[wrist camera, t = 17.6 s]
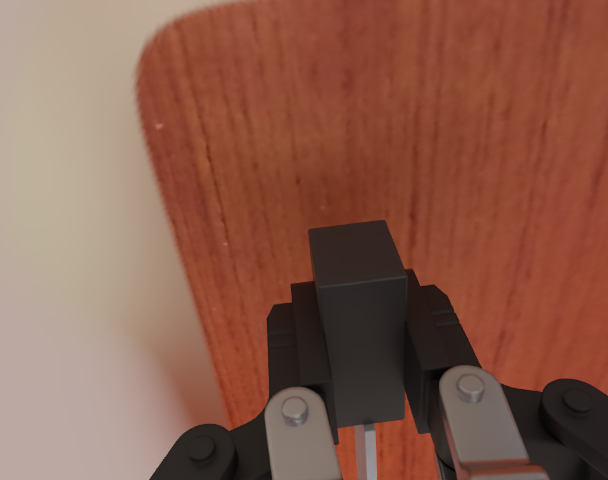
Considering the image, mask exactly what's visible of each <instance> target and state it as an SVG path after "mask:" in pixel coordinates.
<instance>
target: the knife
mask: <svg viewBox="0 0 608 480" xmlns="http://www.w3.org/2000/svg"><path fill="white" fill-rule="evenodd" d="M308 236H309V245H310V254H311V263H312V273H313V281H314V285H315V291H316V297H317V304H318V310H319V316H320V323H321V329H322V332H325V337H326V343H327V349H328V355H329V361H330V367H331V373H332V379H333V388H334V399H335V409H336V420H337V428H341V427H349V426H354V431H355V446H356V461H357V476H358V480H377V465H376V431H375V426H374V423H379V422H387V421H395V420H402V419H404V418H405V388H404V338H405V322H406V321H407V282H408V276H407V274H406V271H405V269H404V266H403V264H402V261H401V259H400V256H399V254H398V251H397V249H396V246H395V244H394V241H393V239H392V236H391V234H390V232H389V229H388V227H387V224H386V222H385V220H378V221H370V222H362V223H354V224H346V225H338V226H330V227H322V228H314V229H309V230H308Z"/></svg>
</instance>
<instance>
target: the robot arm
mask: <svg viewBox="0 0 608 480" xmlns="http://www.w3.org/2000/svg"><path fill="white" fill-rule="evenodd" d="M405 271H406V274H407V276H408V282H407V321H406V322H405V338H404V388H405V391H406V395H407V398H408V401H409V404H410V408H411V411H412V414H413V418H414V421H415V424H416V427H417V431H418V434H423V433H430V434H431V437H432V440H433V443H434V463H435V467H436V472H437V476H438V480H608V396H607V395H606V394H604V393H603V392H601V391H600V390H598V389H597V388H595V387H593V386H592V385H590V384H588V383H585V382H582V381H579V380H575V379H558V380H554V381H552V382H550V383H549V384H547V385H546V386H545V388H544V389H543V392H538V391H531V390H524V389H517V388H512V387H509V386H506V385H503V384H501V383H499V381H498V380H497V379H496V378H495V377H494V376H493V375H492V374H491V373H489V372H488V371H486V370H484V369H482V367H481V365H480V363H479V361H478V359H477V357H476V355H475V353H474V351H473V349H472V347H471V344H470V342H469V340H468V338H467V336H466V334H465V332H464V330H463V328H462V326H461V324H460V323H459V319H458V317H457V315H456V313H454V309H453V307H452V305H451V303H450V301H449V298H448V296H447V295H446V294H444V293H443V292H442V291H441V290H440V289H439V288H437V287H436V286H435V285H427V286H420V285H419V282H418V280H417V277H416V275H415V273H414V271H413V269H406V270H405ZM291 294H292V303H284V304H276V305H274V306H273V307H272V309H271V311H270V313H269V315H268V317H267V335H268V336H267V340H268V368H269V399H268V402H267V404H266V406H265V408H264V409H263V411H262V412H261V413H260V414H259V415H258V416H257V417H256V418H255V419H253V420H252V421H250V422H248V423H246V424H244V425H242V426H240V427H237V428H235V429H233V430H231V431H228V430H227V429H225V428H224V427H222V426H220V425H216V424H203V425H198V426H196V427H193V428H191V429H189V430H188V431H186V432H185V433H184V434H183V435H182V436H180V438H179V439H178V440H177V441H176V443H175V444H174V445H173V447H172V448H171V450H170V451H169V452H168V454H167V455H166V457H165V458H164V459H163V461H162V462H161V464H160V465H159V467H158V468H157V469H156V471H155V472H154V474H153V475H152V476H151V478H150V479H149V480H343V478H342V474H341V470H340V466H339V462H338V457H337V453H336V449H335V445H338V444H339V441H338V431H337V420H336V409H335V399H334V388H333V379H332V373H331V367H330V361H329V355H328V349H327V343H326V337H325V332H322V329H321V323H320V316H319V310H318V304H317V297H316V291H315V285H314V281H310V282H302V283H294V284H291Z"/></svg>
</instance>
